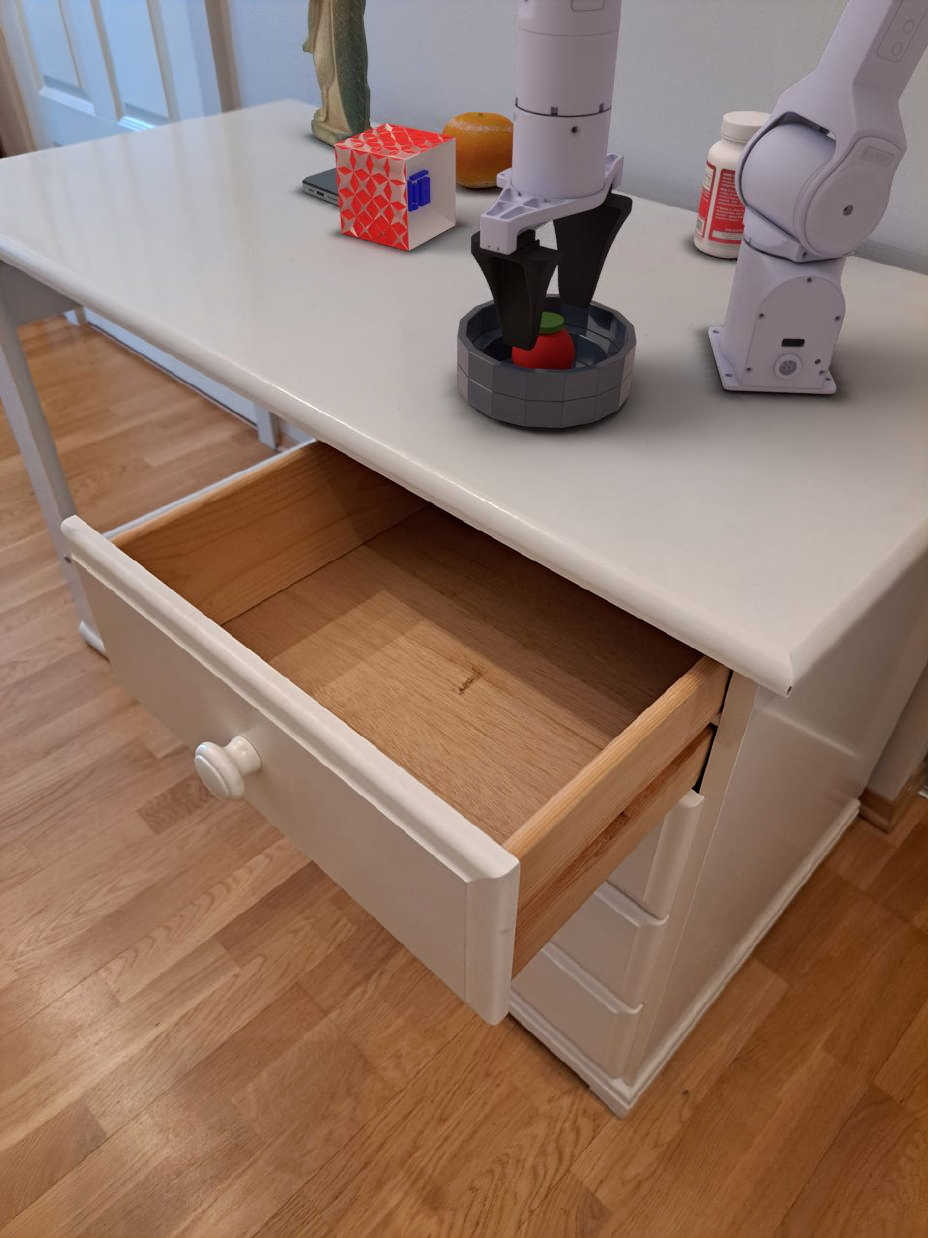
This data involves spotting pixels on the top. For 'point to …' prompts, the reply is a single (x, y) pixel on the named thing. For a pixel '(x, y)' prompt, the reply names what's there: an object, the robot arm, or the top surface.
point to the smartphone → (323, 186)
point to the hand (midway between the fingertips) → (547, 324)
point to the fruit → (481, 147)
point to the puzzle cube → (396, 185)
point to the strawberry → (548, 347)
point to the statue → (339, 68)
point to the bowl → (547, 392)
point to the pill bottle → (725, 187)
